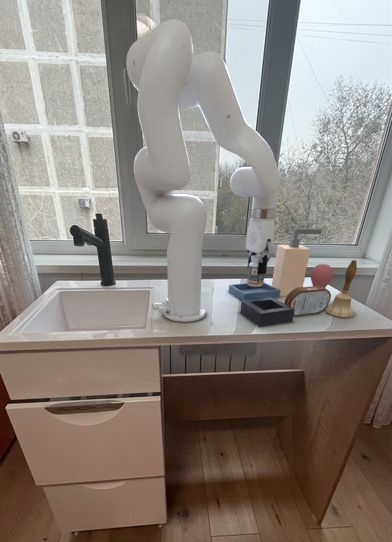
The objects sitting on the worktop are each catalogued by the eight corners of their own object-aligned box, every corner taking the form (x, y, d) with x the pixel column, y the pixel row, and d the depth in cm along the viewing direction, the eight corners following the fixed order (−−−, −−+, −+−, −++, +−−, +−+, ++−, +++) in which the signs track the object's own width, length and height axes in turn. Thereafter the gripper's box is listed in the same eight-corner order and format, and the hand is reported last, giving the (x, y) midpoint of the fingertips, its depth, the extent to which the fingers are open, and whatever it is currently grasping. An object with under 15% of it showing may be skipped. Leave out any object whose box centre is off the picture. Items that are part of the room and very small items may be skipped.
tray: (243, 301, 97) (244, 294, 96) (228, 291, 106) (229, 284, 105) (279, 297, 102) (280, 290, 100) (261, 288, 111) (262, 281, 110)
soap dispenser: (278, 295, 103) (289, 230, 92) (270, 288, 110) (280, 227, 100) (312, 295, 104) (327, 230, 93) (302, 288, 111) (315, 227, 101)
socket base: (259, 327, 79) (261, 313, 77) (240, 312, 88) (241, 300, 86) (292, 322, 82) (294, 309, 80) (270, 308, 91) (272, 296, 89)
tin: (321, 309, 91) (328, 284, 87) (328, 313, 89) (335, 286, 85) (281, 314, 87) (286, 287, 83) (287, 318, 84) (292, 291, 80)
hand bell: (330, 306, 95) (343, 256, 87) (357, 312, 90) (373, 260, 82) (320, 312, 89) (333, 260, 82) (348, 320, 84) (365, 265, 77)
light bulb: (309, 294, 105) (316, 260, 100) (329, 298, 102) (338, 263, 96) (303, 299, 100) (310, 264, 94) (324, 303, 97) (333, 267, 91)
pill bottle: (262, 288, 99) (266, 258, 94) (245, 286, 101) (248, 257, 96) (263, 283, 104) (267, 255, 99) (248, 281, 105) (251, 254, 100)
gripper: (239, 212, 97) (235, 266, 106) (268, 217, 83) (260, 279, 92) (258, 212, 99) (252, 265, 108) (289, 216, 85) (280, 277, 94)
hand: (256, 271), depth 100 cm, fingers closed on pill bottle, 5 cm apart
